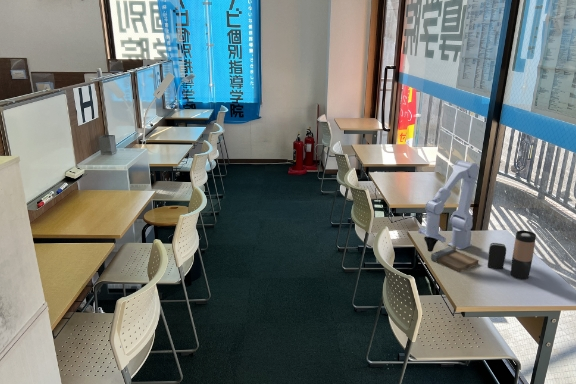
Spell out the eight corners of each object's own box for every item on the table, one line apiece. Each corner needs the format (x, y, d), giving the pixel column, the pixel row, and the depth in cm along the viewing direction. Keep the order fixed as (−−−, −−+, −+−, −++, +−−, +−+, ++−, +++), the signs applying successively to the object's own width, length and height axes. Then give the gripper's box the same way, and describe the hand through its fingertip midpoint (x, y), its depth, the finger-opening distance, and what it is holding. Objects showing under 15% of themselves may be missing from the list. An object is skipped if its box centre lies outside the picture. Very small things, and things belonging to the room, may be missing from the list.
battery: (503, 266, 203) (506, 243, 200) (503, 269, 200) (507, 246, 196) (486, 263, 205) (489, 241, 202) (486, 267, 202) (490, 244, 199)
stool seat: (452, 252, 218) (453, 244, 217) (479, 263, 206) (480, 255, 205) (431, 259, 210) (432, 252, 209) (459, 272, 198) (459, 264, 197)
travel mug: (527, 272, 197) (534, 231, 190) (530, 281, 190) (537, 238, 184) (508, 270, 199) (515, 229, 193) (510, 278, 192) (517, 236, 186)
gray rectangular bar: (448, 252, 217) (449, 247, 216) (453, 254, 214) (454, 249, 213) (430, 259, 210) (431, 253, 209) (436, 261, 207) (436, 256, 206)
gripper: (415, 222, 215) (413, 247, 219) (439, 231, 203) (437, 258, 207) (424, 219, 218) (422, 244, 222) (449, 228, 207) (446, 254, 211)
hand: (430, 250), depth 215 cm, fingers closed
